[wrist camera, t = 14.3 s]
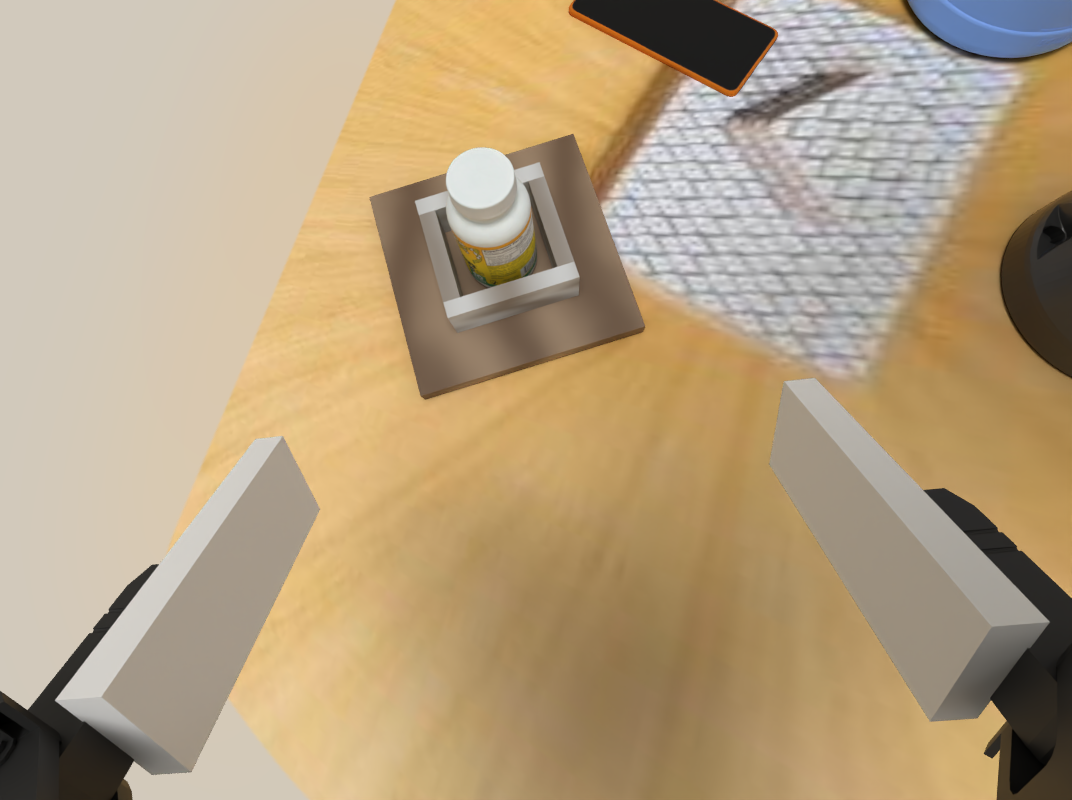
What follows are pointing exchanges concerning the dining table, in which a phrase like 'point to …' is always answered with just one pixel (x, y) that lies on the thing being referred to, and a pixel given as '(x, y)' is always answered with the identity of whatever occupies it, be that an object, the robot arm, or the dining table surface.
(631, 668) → the dining table surface
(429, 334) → the square framed base tray
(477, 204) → the supplement bottle
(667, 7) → the smartphone
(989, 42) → the water jug
